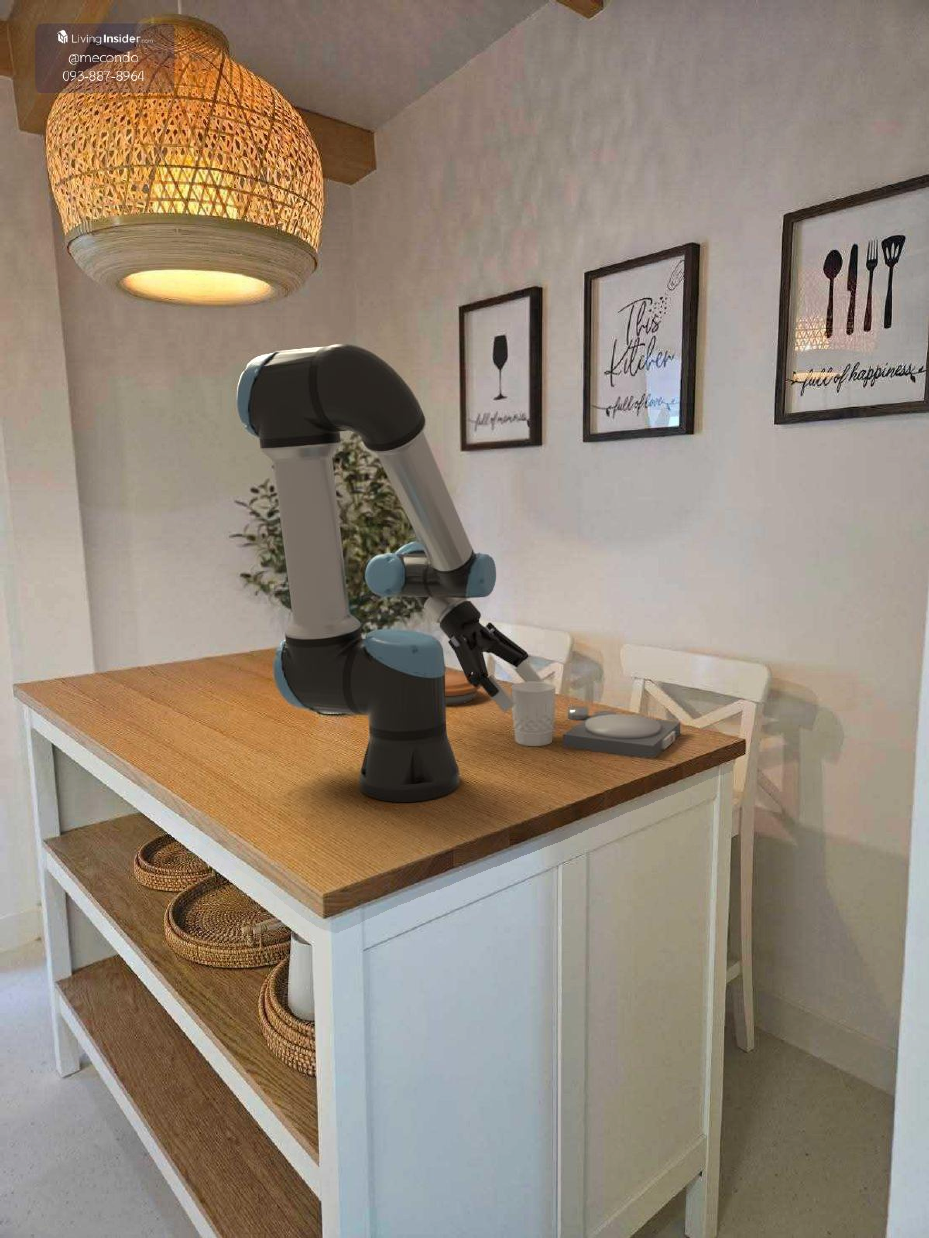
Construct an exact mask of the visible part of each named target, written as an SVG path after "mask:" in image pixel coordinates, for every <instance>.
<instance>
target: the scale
mask: <svg viewBox="0 0 929 1238" xmlns="http://www.w3.org/2000/svg"><path fill="white" fill-rule="evenodd" d="M680 735H681V722H680V721H671V720H665V719H664V720H662V719H655V718H651V717H647V716H642V715H636V714H626V713H625V714H624V713H623V714H622V713H621V714H618V713H616V714H615V715H610V714H601V713H596V714H595V713H594V714H593V715H591V716H588V719H586V720H582V721H581V722H580V723H578V724H577V725H575V726H574V727H572V728H571V729H569V730H568V731H566V732H564V733H562V748H570V749H577V750H584V751H585V750H586V751H590V752H591V751H592V752H598V753H606V754H608V753H609V754H614V755H621V756H628V757H634V756H637V757H636V758H642V757H645V758H644V759H649V758H651V759H650V760H654V759H655V758H656V757H657V756H658V755H659V754H660V753H661V752H662V751H663V750H666V749H667V748H668V747H669V746H670V745H672V744H673V743H674V742H675V741H676V739H677V738H678V737H679V736H680ZM658 753H659V754H658ZM655 756H656V757H655ZM654 757H655V758H654ZM653 758H654V759H653Z"/></svg>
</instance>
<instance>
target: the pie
mask: <svg viewBox="0 0 929 1238" xmlns="http://www.w3.org/2000/svg"><path fill="white" fill-rule="evenodd" d="M481 687H482V686H481V685H479V686H478V687H474V686H473V685H472V684H470V683H469V682H468V681H467V678H466V676H465V674H464V673H457V672H456V673H449V672H447V673H446V672H445V695H446V706H454V705H453V704H456V705H461V703H462V704H465V703H464V702H466V703H469V702H471V701H472V700H473V699H474V698H475V696H476V695H477V693H478V690H479V689H480V688H481Z"/></svg>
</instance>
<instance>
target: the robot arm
mask: <svg viewBox="0 0 929 1238" xmlns="http://www.w3.org/2000/svg"><path fill="white" fill-rule="evenodd" d="M240 374H241V375H240V377H239V381H238V384H237V387H236V388H237V389H236V408H237V412H238V417H239V418H240V421H241V423H242V424H244V428H245V429H246V431H247V432H248V433H250V434H251V435H252V436H254V437H256V438H258V439H259V445H260V452H262V453H263V454H264V455H265V456H267V457H268V458H269V459H270V460H271V462H272V464H273V472H274V481H275V485H276V486H275V487H276V495H277V501H278V511H279V518H280V519H279V520H280V527H281V534H282V535H281V536H282V542H283V549H284V557H285V564H286V572H287V573H286V574H287V581H288V588H289V589H288V590H289V596H290V605H291V606H290V607H291V612H292V621H291V622H290V623H289V625H288V626H287V627H286V629H285V630H284V639H282V640H281V642H279V645H278V646H277V648H276V650H275V655H276V657H274V658H273V662H272V663H273V664H272V665H273V667H272V670H273V671H272V673H273V678H274V679H273V680H274V683H275V684H276V688H277V690H278V692H279V693H280V695H281V697H282V698H283V700H285V701H286V702H287V703H288V704H290V705H292V706H293V707H295V708H298V709H303V710H308V711H311V712H316V713H319V712H320V713H323V712H324V713H333V714H334V713H335V714H349V715H360V716H368V731H369V733H368V734H369V738H368V741H367V742H368V743H367V747H366V750H365V753H364V756H363V760H362V765H361V768H360V771H359V790H360V791H361V792H362V793H363V795H366V796H367V797H369V798H372V799H376V800H379V801H385V802H395V803H396V802H397V803H412V802H421V801H428V800H429V801H430V800H433V799H438V798H441V797H444V796H446V795H449V794H451V793H452V792H455V790H457V789H458V787H459V786H460V768H459V765H458V763H457V760H456V757H455V755H454V751H453V747H452V745H451V743H450V740H449V737H448V733H447V709H446V708H447V707H446V706H447V705H446V695H445V674H446V672H447V671H446V670H447V667H446V663H445V655H444V647H443V646H442V644H441V642H440V641H439V640H438V639H437V638H436V637H434V636H432V635H430V634H427V633H424V632H420V631H415V630H409V629H408V630H407V629H393V628H384V629H383V628H382V629H375V630H371V631H369V632H368V633H366V634H365V637H364V638H363V635H362V627H361V622H360V621H359V620H358V619H357V618H356V617H355V616H354V615H352V614H351V613H350V608H349V605H350V604H349V598H348V597H349V596H348V589H347V588H348V587H347V581H346V571H345V570H346V569H345V561H344V552H343V551H344V550H343V544H342V534H341V533H342V532H341V525H340V518H339V517H340V516H339V506H338V497H337V490H336V489H337V488H336V480H335V479H336V478H335V470H334V463H333V462H334V460H333V456H334V454H335V452H336V451H338V449H339V448H340V447H341V445H342V441H341V432H348V431H350V432H352V433H354V434H357V436H359V437H360V439H361V441H362V442H363V444H364V447H365V448H366V449H367V450H368V451H370V452H372V453H376V456H377V457H378V459H379V462H380V464H381V465H382V468H383V470H384V472H385V474H386V476H387V478H388V479H389V482H390V484H391V485H392V488H393V490H394V492H395V494H396V495H397V499H398V500H399V502H400V504H401V506H402V509H403V510H404V512H405V515H406V517H407V518H408V520H409V521H408V522H410V525H411V527H412V529H413V531H414V533H415V535H416V536H417V539H418V541H419V542H418V541H411V542H409V543H406V544H404V545H403V546H400V548H399V549H398V550H396V551H395V552H394V553H393V552H392V553H391V552H390V553H388V552H386V553H381V554H378V555H375V556H373V558H371V559H370V561H368V564H367V566H366V568H365V572H364V573H365V574H364V577H365V583H366V585H367V587H368V589H369V590H370V591H371V593H373V594H374V595H376V596H379V597H385V598H394V597H414V598H415V600H416V601H417V602H418V603H419V604H420V605H421V606H422V608H423V609H424V610H425V611H426V612H427V613H428V616H429V617H430V618H431V619H432V620H434V622H435V623H436V624H439V628H440V629H441V631H442V632H443V633H444V635H446V636H447V638H448V639H449V640H448V641H447V643H448V644H449V646H450V647H451V649H452V650H453V652H454V654H455V656H456V658H457V660H458V663H459V665H460V667H461V669H462V671H463V674H465V676H466V678H467V681H468V682H469V683H470V684H472V685H473V686H474V687H478V686H479V685H481V687H482V688H483V690H484V691H485V692H486V694H488V695H489V697H490V698H491V700H492V701H493V702H494V703H495V704H496V705H497V706H498V707H499V709H500V710H501V711H502V712H503V714H506V713H508V712H509V710H510V709H512V706H513V705H514V704H516V702H515V701H514V700H513V699H512V697H511V694H509V692H508V691H507V690H506V689H505V688H504V687H503V685H501V683H500V682H499V681H498V679H496V677H495V675H493V674H489V673H488V668H487V664H486V661H485V655H484V653H486V654H490V653H491V654H493V655H494V656H495V657H498V658H499V659H501V660H503V661H504V662H507V663H508V664H509V665H512V666H513V667H515V669H514V671H515V672H516V673H517V674H518V676H519V677H520V678H521V679H522V681H523V682H545V681H544V679H542V678H541V677H540V675H539V674H538V673H537V672H536V671H535V669H534V668H533V667H532V666H531V664H529V663H528V661H527V659H528V658H529V654H528V652H527V651H526V650H525V649H524V648H522V647H521V646H519V645H518V644H517V643H515V642H514V641H513V640H512V639H510V638H509V637H508V636H507V635H505V634H504V633H503V632H501V631H500V630H499V629H498V628H497V627H496V626H495V625H494V624H493V623H492V622H488V623H487V624H486V625H485V626H484V625H483V624H481V623H480V619H481V617H482V614H481V612H480V611H479V609H478V608H477V607H476V606H475V605H474V604H473V603H472V601H470V600H468V599H474V598H476V599H477V598H487V597H488V596H490V595H491V594H492V592H493V590H494V588H495V585H496V582H497V581H496V580H497V567H496V563H495V561H494V558H493V557H492V556H490V555H489V554H486V553H481V552H476V553H475V550H474V549H473V547H472V544H471V543H470V540H469V537H468V535H467V534H466V533H467V532H466V531H465V528H464V526H463V523H462V521H461V518H460V516H459V514H458V511H457V510H456V507H455V504H454V502H453V500H452V497H451V494H450V493H449V489H448V488H447V485H446V483H445V480H444V478H443V476H442V473H441V471H440V468H439V466H438V464H437V461H436V459H435V456H434V454H433V452H432V450H431V449H432V448H431V447H430V445H429V442H428V439H427V438H426V435H425V432H424V430H425V428H426V425H427V419H426V417H425V414H424V412H423V409H422V408H421V405H420V403H419V400H418V399H417V397H416V396H415V394H414V392H413V391H412V389H411V387H409V385H408V384H407V383H406V381H405V380H404V378H402V377H401V375H400V374H399V373H398V372H397V371H396V370H395V369H394V368H393V367H392V366H391V365H389V363H388V362H386V361H385V360H383V359H382V358H381V357H380V356H378V355H376V354H375V353H374V352H371V350H368V349H366V348H363V347H360V346H357V345H353V344H348V343H337V344H332V345H326V346H319V347H317V346H316V347H308V348H306V347H305V348H300V349H288V350H277V351H274V352H272V353H268V354H267V353H266V354H262V355H260V356H259V355H258V356H257V357H255V358H253V359H252V360H250V362H249V363H247V365H246V367H245V369H244V370H243V371H242V372H241V373H240Z"/></svg>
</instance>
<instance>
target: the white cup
mask: <svg viewBox="0 0 929 1238" xmlns="http://www.w3.org/2000/svg"><path fill="white" fill-rule="evenodd" d="M510 696H511V697H512V699H513V700H514V701H515V702H516V704H514V705H513V706H512V707H511V710H512V712H511V713H512V722H513V723H512V724H513V728H514V729H513V731H514V742H516V744H518V745H521V746H525V747H542V746H547V745H549V744H551V743H553V741H554V727H555V713H556V712H555V711H556V684H553V683H550V682H545V681H544V682H525V681H523V682H517V683H514V684H512V685H510Z"/></svg>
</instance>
